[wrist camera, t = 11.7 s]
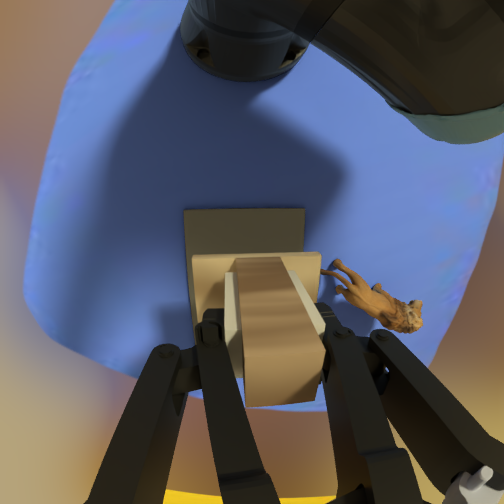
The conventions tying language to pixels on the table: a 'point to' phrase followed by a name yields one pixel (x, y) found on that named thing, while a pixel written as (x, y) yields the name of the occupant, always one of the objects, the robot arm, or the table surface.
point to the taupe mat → (240, 235)
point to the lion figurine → (378, 302)
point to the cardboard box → (268, 321)
